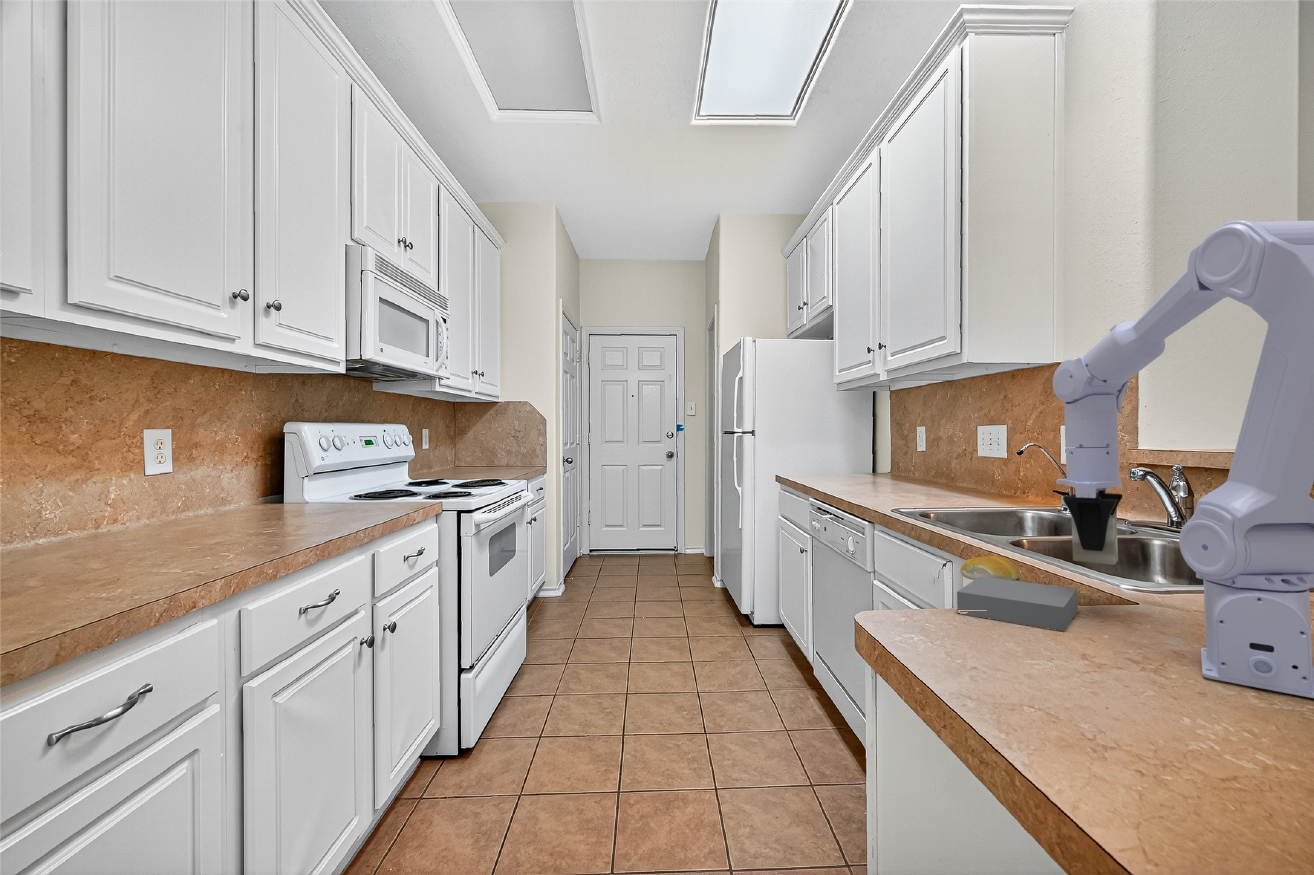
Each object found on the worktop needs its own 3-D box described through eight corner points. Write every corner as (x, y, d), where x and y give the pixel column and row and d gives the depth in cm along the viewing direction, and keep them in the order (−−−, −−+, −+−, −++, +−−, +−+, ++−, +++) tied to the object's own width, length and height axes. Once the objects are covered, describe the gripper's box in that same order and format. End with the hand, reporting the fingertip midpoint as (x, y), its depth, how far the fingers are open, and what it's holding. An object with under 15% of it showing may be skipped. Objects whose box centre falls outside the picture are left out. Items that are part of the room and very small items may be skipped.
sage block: (1114, 564, 73) (1113, 518, 73) (1073, 560, 76) (1071, 516, 76) (1118, 559, 76) (1116, 515, 76) (1077, 555, 79) (1076, 513, 79)
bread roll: (1026, 578, 97) (1025, 555, 97) (1002, 586, 92) (1001, 562, 92) (976, 570, 104) (976, 549, 104) (952, 577, 99) (951, 554, 99)
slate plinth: (1064, 631, 69) (1063, 607, 69) (957, 613, 77) (956, 591, 77) (1078, 610, 77) (1077, 588, 77) (980, 596, 86) (980, 576, 86)
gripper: (1064, 447, 84) (1067, 538, 84) (1045, 448, 74) (1049, 551, 74) (1125, 447, 79) (1129, 542, 79) (1114, 447, 69) (1118, 558, 69)
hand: (1095, 547), depth 76 cm, fingers closed on sage block, 4 cm apart
